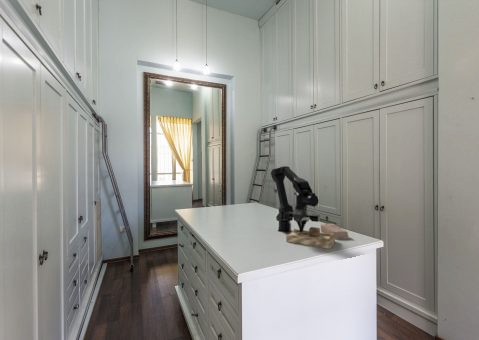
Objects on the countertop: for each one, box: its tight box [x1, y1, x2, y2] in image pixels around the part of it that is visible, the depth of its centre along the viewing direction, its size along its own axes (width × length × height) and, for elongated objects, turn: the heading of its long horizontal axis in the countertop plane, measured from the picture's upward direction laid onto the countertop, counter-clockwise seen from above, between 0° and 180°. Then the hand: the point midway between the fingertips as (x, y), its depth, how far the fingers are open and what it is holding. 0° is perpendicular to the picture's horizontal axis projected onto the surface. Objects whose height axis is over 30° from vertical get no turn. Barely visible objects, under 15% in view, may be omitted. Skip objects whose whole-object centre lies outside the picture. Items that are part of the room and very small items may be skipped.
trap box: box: [285, 228, 336, 250], centre depth 123 cm, size 22×13×4 cm, turn 59°
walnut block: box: [308, 226, 321, 238], centre depth 124 cm, size 4×4×4 cm
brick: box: [320, 223, 349, 240], centre depth 134 cm, size 16×8×5 cm, turn 8°
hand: (301, 231), depth 128 cm, fingers closed
